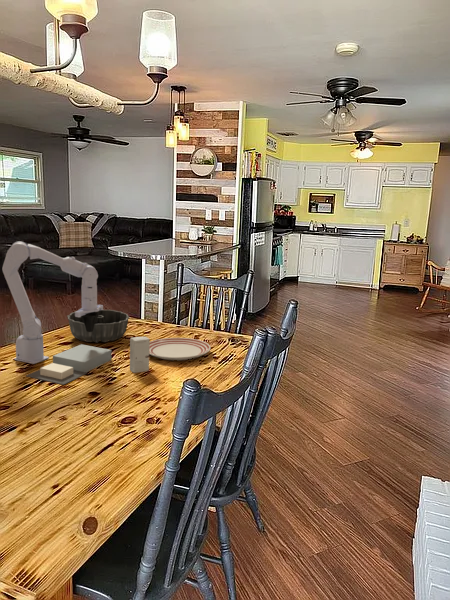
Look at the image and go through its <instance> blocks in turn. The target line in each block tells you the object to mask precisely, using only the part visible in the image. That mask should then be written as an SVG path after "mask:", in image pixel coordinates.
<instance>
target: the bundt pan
mask: <svg viewBox="0 0 450 600" xmlns="http://www.w3.org/2000/svg"><path fill="white" fill-rule="evenodd" d="M75 312H76V311H74V312H71V313H70V314H68V315H66V317H67V320H68V323H69V325H68V326H69V331H70V332H71V334H72V336H73V337H74V338H75V339H77V340H79V341H81V342H87V343H92V342H94V343H96V344H99V342H101V343H107V342H115V341H116V340H118V339H121V338H122V337H123V336H124V335H125V334H126V332H127V328H128V323H129V319H130V318H131V317H130V316H129V315H128V314H127V313H125V312H122V311H118V310H114V309H103V310H99V311H98V312H96V313H99V316H98V317H97V319H96V322H95V325H94V329H93V332H87V331H86V327H85V324H84V322H83V320H82V318H81V317H75Z"/></svg>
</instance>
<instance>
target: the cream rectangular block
mask: <svg viewBox="0 0 450 600" xmlns="http://www.w3.org/2000/svg"><path fill="white" fill-rule="evenodd" d="M39 370H40V375H44V376H48V377H53V378H57V379H64V378H66V377H68V376H70V375H72V374H73V367H69V366H65V365H60V364H55V363H53V362H51V363H49V364H47V365H45V366H41V367H40V368H39Z"/></svg>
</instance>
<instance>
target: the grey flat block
mask: <svg viewBox="0 0 450 600" xmlns="http://www.w3.org/2000/svg"><path fill="white" fill-rule="evenodd" d="M110 361H112V349H108V348H102V347H96V346H92V345H86V344H82V343H81V344H79V345H77V346H74V347H72V348H69V349H66V350H64V351H62V352H58V353H56V354H54V355H52V363H55V364H60V365H65V366H69V367H73V370H76V371H81V372H86V373H88V372H90V371H91V370H93V369H96V368H98V367H101V366H102V365H104V364H106V363H108V362H110Z"/></svg>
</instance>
